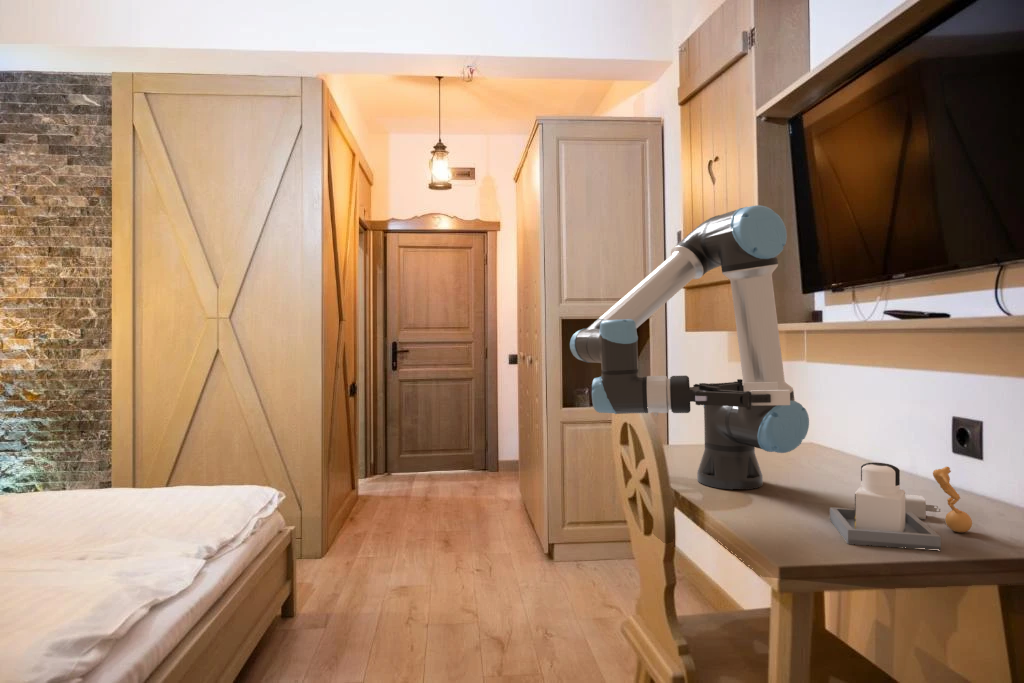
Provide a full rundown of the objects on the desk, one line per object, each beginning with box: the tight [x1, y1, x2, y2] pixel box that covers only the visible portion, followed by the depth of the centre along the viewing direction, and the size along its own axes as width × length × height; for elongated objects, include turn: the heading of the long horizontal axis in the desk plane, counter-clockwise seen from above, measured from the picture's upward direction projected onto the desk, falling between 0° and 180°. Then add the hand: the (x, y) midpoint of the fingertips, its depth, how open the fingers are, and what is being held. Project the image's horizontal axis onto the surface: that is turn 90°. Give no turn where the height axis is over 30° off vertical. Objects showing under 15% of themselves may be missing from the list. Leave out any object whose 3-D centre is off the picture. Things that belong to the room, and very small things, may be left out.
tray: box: [829, 507, 942, 551], centre depth 110 cm, size 14×14×2 cm
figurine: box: [932, 466, 973, 533], centre depth 111 cm, size 8×6×12 cm
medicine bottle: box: [854, 462, 906, 532], centre depth 110 cm, size 7×7×12 cm
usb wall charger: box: [905, 493, 941, 520], centre depth 120 cm, size 4×7×4 cm, turn 66°
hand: (783, 392), depth 116 cm, fingers open, 13 cm apart
